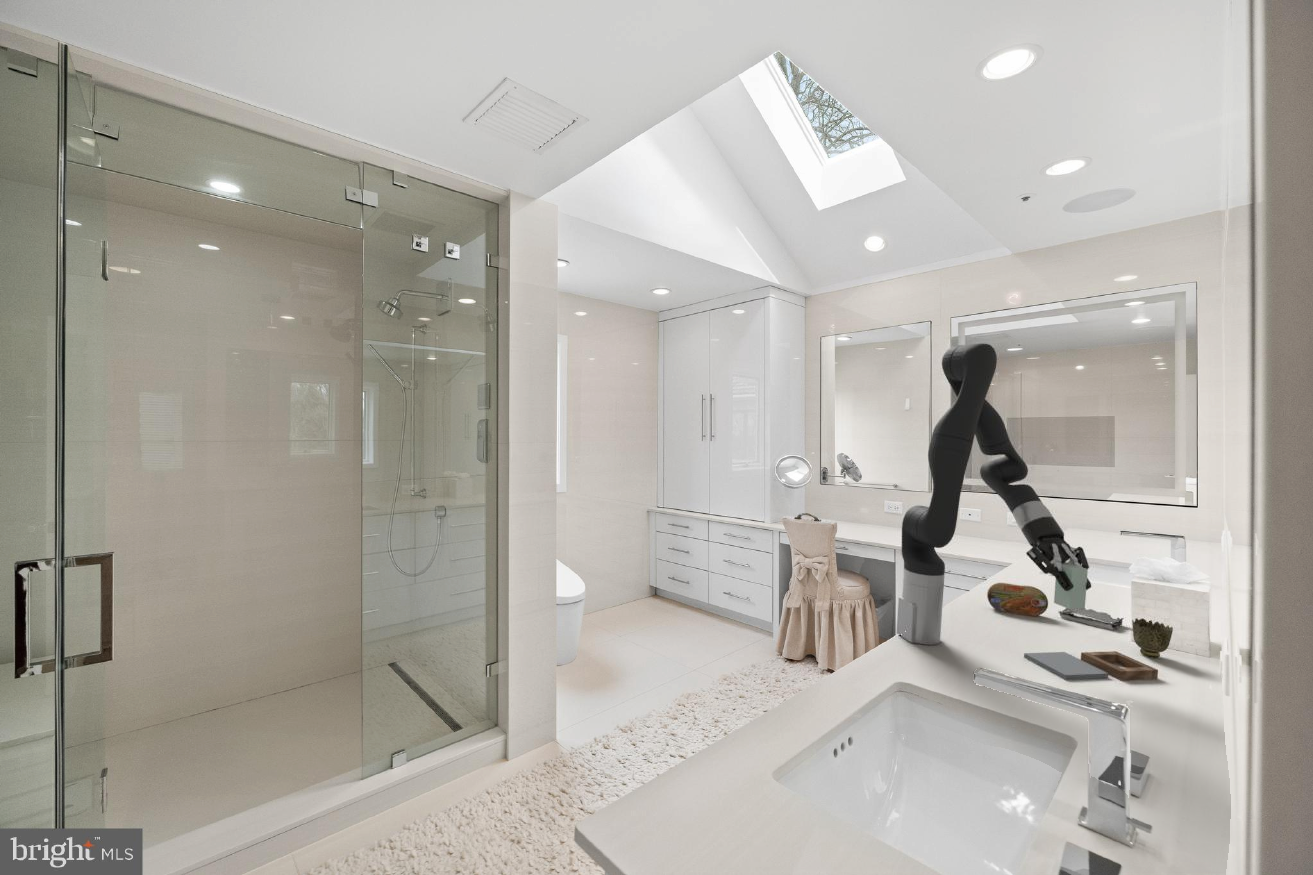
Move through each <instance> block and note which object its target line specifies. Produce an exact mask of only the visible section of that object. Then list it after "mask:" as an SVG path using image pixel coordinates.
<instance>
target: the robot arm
mask: <svg viewBox="0 0 1313 875" xmlns="http://www.w3.org/2000/svg"><path fill="white" fill-rule="evenodd" d="M997 357H998V356H997V353H996V350H995V348H994V347H993V345H990V344H989V343H983V342H982V343H971V344H961V345H954V346H950V347H949V348H948V349H946V351H945V352H944V353H943V355H942V358H941V367H942V371H943V375H945V378H946V380H947V382H948V384H949V385H950V387H951V388H952V390H953V392H954V394H955V396H956V399H955V401H954V402H953V403H952V404H951V405H950V406H949V408H948V410H946V412H945V413H944V414H943V415H942V417H941V418H940V419H939V420H938V422H936V425H935V426H934V428H933V431H932V435H931V438H930V442H929V446H928V452H927V459H928V464H929V469H930V475H931V478H932V485H933V486H932V487H933V488H932V495H931V498H930V503H929V506H926V505H925V506H924V505H914V506H911V507H910V508H908V509H907V511H906V512H905V514H904V517H903V518H902V524H901V556H902V559H903V562H904V563H903V565H904V566H903V567H904V568H903V578H902V579H903V580H902V581H903V582H902V594H901V595H902V596H899V597H898V602H897V603H898V604H897V620H896V634H897V635H899V636H900V635H901V634H902V635H901V636H900V637H901V638H903V639H904V640H906V641H907V642H909V643H912V644H913V643H914V644H920V645H925V646H927V645H929V646H931V645H938V644H939V643H940V642H941V635H942V634H941V633H942V617H943V602H944V586H945V572H946V563H945V562H944V560H943V559H942V558H941V557H940V556H939V555H938V553H937V551H936V549H940V548H944V547H946V546H948V545H949V544H950V543H951V541H952V540H953V537H954V535H955V533H956V528H957V524H958V523H957V522H958V515H959V514H958V513H959V508H960V501H961V500H960V499H961V498H960V497H961V494H962V488H963V484H964V479H965V475H966V470H967V466H968V463H969V459H970V456H971V452H972V448H973V445H974V442H975V441H974V439H976V441H977V444H978V447H979V450H980V451H981V453H982V454H983V455H986V456H1001V455H1002V456H1003V455H1004V456H1003V457H999V458H997V459H994V460H989V461H987V462H984V463H983V464H982V465H981V466H980V469H979V474H980V478H981V479H982V481H983V482H984V484H986V485H987V486H988V487H989V488H990V489H991V490H992V491H993V492H994V493H996V495H998V496H999V497H1000V498H1001V499H1002V500H1003V501H1004V502H1005V504H1006V505H1007V507H1008V509H1009V511H1010V513H1011V514H1012V515H1013V517H1014V520H1015V522H1016V524H1017V526H1018V527H1019V529H1020V531H1021V533H1022V534H1023V536H1024V537H1025V538H1026V541H1027V542H1028V544H1029V546H1030V547H1031V548H1030V549H1029V550H1027V551H1026V552H1025V553H1026V556H1027V557H1028V558H1030V559H1031V561H1032V562H1033V564H1035V565H1036V566H1037V567H1038V568H1039V569H1040V570H1041V571H1042V572H1043V574H1050V575H1051V576H1053V577H1054V578H1055V580H1056V579H1057V581H1058V583H1059V584H1060V586H1061V587H1062V588H1063V589H1064V590H1065V591H1069V590H1070V589H1072V588H1073V587H1074V586H1073V584H1072V582H1071V581H1070V579H1069V578H1068V576H1067V575H1066V573H1065V572H1062V571H1063V568H1062V565H1061V564H1073V565H1076V566H1079V567H1082V568H1086V569H1090V565H1089V563H1088V559H1087V556H1086V554H1085V551H1084V549H1083V547H1082V546H1078V547H1073V546H1071V545H1070V544H1069V543H1068V542H1067V541H1066V540H1065V537H1064V536H1065V533H1064V531H1063V529H1062V528H1061V526H1060V525H1059V523H1058V522H1057V521H1056V519H1055V518H1054V516H1053V514H1052V512H1051V511H1050V510H1049V508H1047V506H1046V505H1045V504H1044V503H1043V501H1042V500H1041V498H1040V497H1039V496H1038V494H1037V493H1036V491H1035V489H1034V488H1033V487H1032V486H1031V485H1029V484H1025V483H1023V484H1022V483H1020V484H1013V483H1017V482H1020V481H1022V480H1024V479H1026V478H1027V476H1028V474H1029V468H1028V466H1027V464H1026V462H1025V461H1024V459H1023V458H1022V457H1021V456H1020V454H1019V453H1018V452H1017V451H1016V449H1015V447H1014V446H1013V444H1012V442H1011V440H1010V437H1009V434H1008V432H1007V427H1006V425H1005V423H1004V420H1003V419H1002V416H1001V415H1000V414H999V412H998V411H997V410H996V409H995V407H994V406H992V404H990V402H988V400H987V399H986V397H987V394H988V392H989V390H990V386H991V384H992V381H993V378H994V376H995V373H996V369H997V363H998V361H997V360H998V358H997ZM1068 560H1069V561H1068ZM1091 588H1092V582H1090V579H1089V578H1088V577H1087V584H1086V591H1088V590H1089V589H1091ZM905 631H906V632H905Z"/></svg>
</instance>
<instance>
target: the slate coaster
mask: <svg viewBox="0 0 1313 875" xmlns="http://www.w3.org/2000/svg"><path fill="white" fill-rule="evenodd" d="M1023 658H1024V659H1026V660H1028V661H1030V662H1032V663H1033V664H1035V665H1037V666H1038V667H1041V668H1043V669H1044V670H1047V671H1049V673H1052V674H1054V675H1056V676H1058V677H1059V678H1060V679H1063V680H1065V681H1066V680H1089V679H1090V680H1091V679H1092V680H1093V679H1108V678H1109V673H1107V672H1105V671H1103V670H1101V669H1099V668H1097V667H1094V666H1092V665H1090V664H1088V663H1086V662H1084V661H1082V660H1081V658H1080V659H1079V658H1078V657H1076V656H1073V655H1072V654H1070V653H1067V652H1065V651H1054V652H1052V651H1051V652H1049V651H1048V652H1030V653H1029V652H1024V653H1023Z"/></svg>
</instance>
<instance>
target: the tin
mask: <svg viewBox="0 0 1313 875" xmlns="http://www.w3.org/2000/svg"><path fill="white" fill-rule="evenodd" d="M986 595H987V596H986V597H987V600H988V604H990V606H991V607H992V608H993V609H995V610H996V611H998V612H1001V613H1004V614H1006V613H1007V614H1015V615H1019V616H1027V617H1038V616H1041V615H1043V614H1044V613H1045V612H1046V611H1047V609H1048V607H1049V599H1048V596H1047V595H1046V594H1045V593H1044V592H1043V591H1042V590H1041V589H1039V588H1037V587H1035V586H1031V585H1024V584H1015V583H1007V582H997V583H994V584H992V585H991V586H990V587H989V588H988V590H987V593H986Z"/></svg>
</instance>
